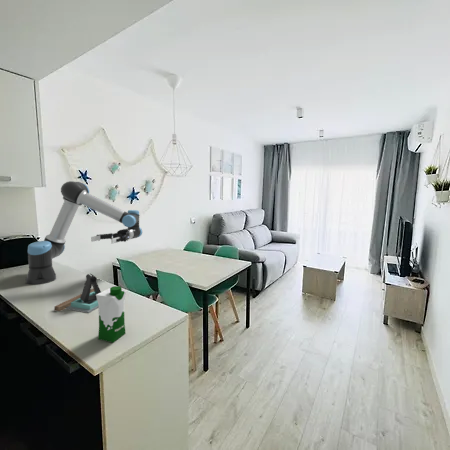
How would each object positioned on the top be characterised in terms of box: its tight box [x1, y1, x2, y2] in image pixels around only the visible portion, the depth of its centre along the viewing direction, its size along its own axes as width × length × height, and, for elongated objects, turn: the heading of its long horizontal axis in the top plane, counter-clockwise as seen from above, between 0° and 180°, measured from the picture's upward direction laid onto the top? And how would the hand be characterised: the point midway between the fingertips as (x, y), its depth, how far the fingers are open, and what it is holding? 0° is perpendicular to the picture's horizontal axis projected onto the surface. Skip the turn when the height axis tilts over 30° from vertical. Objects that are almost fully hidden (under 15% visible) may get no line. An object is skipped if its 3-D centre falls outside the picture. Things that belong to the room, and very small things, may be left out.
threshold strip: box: [54, 288, 94, 312], centre depth 130 cm, size 3×24×2 cm, turn 165°
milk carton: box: [96, 285, 127, 344], centre depth 99 cm, size 9×9×20 cm
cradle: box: [65, 292, 99, 314], centre depth 128 cm, size 13×18×3 cm
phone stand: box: [80, 273, 102, 302], centre depth 127 cm, size 9×6×12 cm, turn 135°
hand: (101, 240), depth 146 cm, fingers open, 13 cm apart
